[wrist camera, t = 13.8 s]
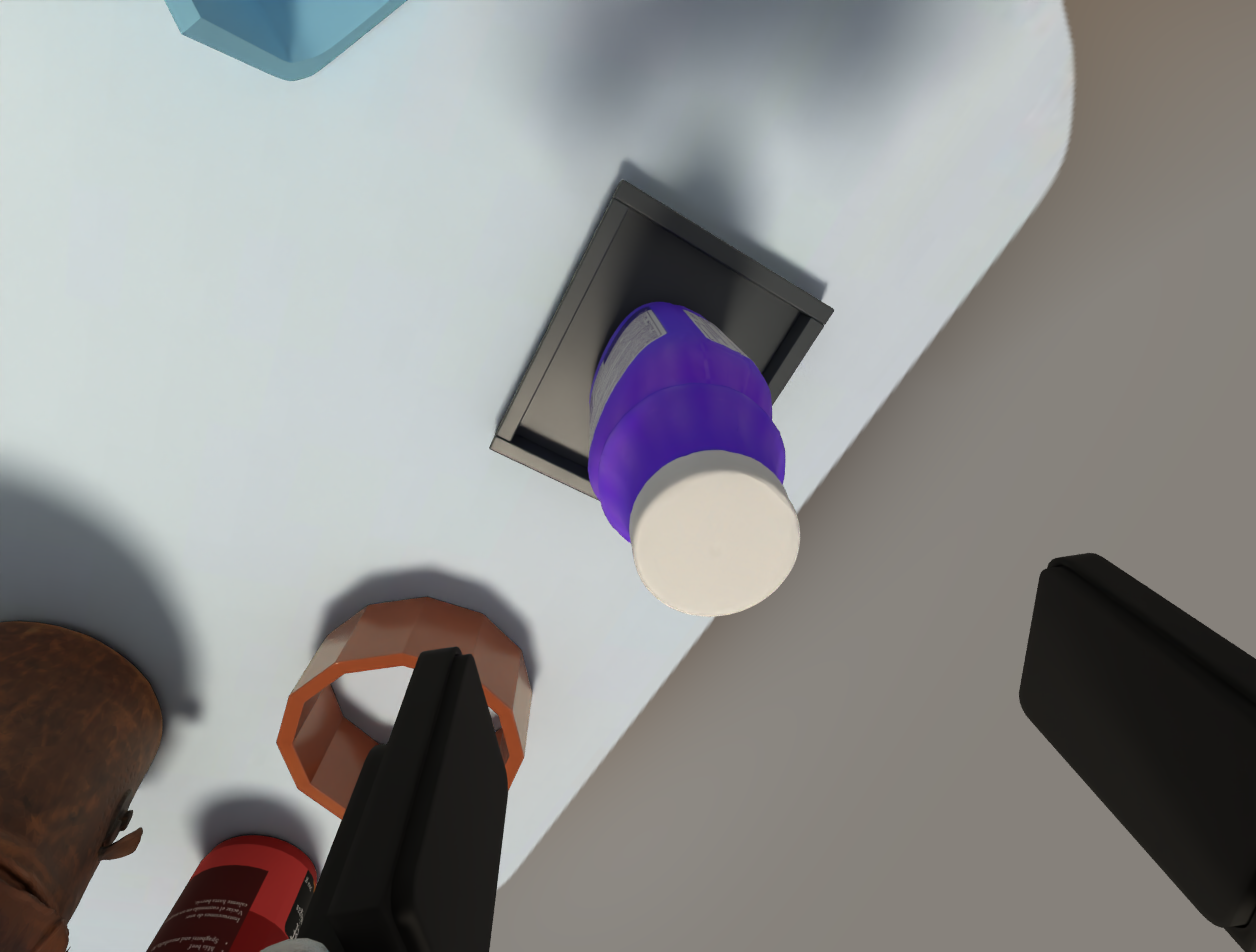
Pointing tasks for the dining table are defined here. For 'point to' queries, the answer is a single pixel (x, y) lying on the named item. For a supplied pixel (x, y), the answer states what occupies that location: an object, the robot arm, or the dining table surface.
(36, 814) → the case
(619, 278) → the tray
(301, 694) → the terracotta faceted ring
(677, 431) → the bottle
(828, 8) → the dining table surface
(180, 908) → the canned food
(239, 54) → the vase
